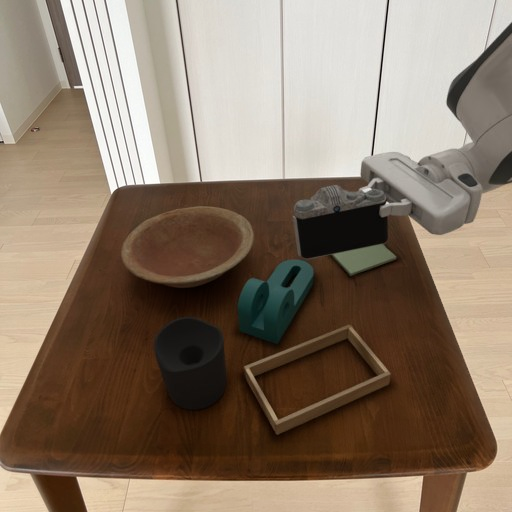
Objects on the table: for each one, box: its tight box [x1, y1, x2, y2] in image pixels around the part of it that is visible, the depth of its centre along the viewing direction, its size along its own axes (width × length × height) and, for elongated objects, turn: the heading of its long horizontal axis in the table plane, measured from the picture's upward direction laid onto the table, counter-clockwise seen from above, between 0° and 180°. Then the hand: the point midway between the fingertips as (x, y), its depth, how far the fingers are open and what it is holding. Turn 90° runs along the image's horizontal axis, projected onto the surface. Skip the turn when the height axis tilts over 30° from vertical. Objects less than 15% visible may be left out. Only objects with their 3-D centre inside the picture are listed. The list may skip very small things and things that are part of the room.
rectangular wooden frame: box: [243, 324, 392, 436], centre depth 74 cm, size 11×18×2 cm, turn 115°
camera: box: [292, 184, 389, 260], centre depth 81 cm, size 15×7×10 cm, turn 99°
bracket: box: [237, 259, 314, 345], centre depth 85 cm, size 18×7×8 cm, turn 153°
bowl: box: [120, 205, 255, 289], centre depth 93 cm, size 24×24×8 cm
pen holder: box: [153, 316, 227, 411], centre depth 72 cm, size 9×9×10 cm
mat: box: [331, 244, 397, 277], centre depth 97 cm, size 10×10×1 cm
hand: (369, 203), depth 79 cm, fingers closed on camera, 3 cm apart
